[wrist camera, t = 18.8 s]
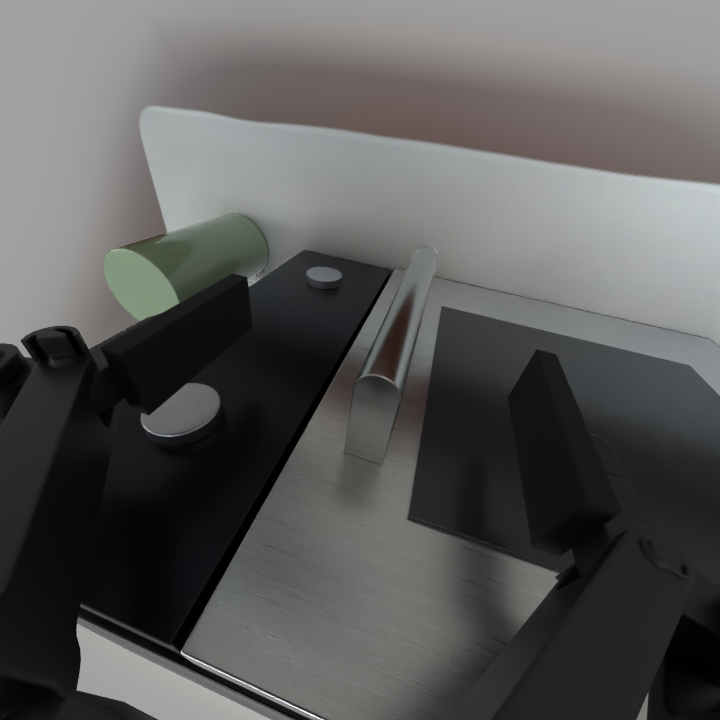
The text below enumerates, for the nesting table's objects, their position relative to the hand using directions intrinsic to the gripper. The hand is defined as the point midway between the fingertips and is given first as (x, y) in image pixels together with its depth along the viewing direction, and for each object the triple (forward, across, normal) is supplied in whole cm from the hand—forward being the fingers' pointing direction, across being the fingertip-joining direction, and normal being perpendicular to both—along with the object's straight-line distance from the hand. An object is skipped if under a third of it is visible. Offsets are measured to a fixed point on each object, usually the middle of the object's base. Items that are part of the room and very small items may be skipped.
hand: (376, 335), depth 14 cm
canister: (+20, -20, -5) cm, 29 cm away
